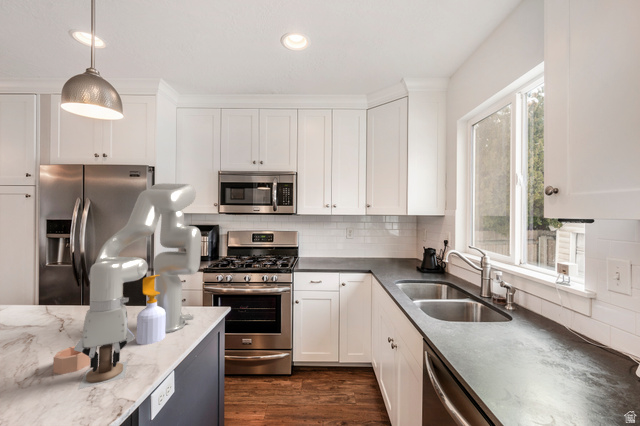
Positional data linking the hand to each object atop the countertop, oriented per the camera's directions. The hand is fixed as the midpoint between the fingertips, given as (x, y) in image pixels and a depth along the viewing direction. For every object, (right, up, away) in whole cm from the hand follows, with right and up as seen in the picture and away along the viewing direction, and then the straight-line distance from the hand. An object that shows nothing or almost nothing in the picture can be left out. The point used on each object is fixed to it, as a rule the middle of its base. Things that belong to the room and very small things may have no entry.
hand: (105, 366), depth 77 cm
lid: (0, -2, 0) cm, 2 cm away
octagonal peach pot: (-13, -3, +4) cm, 14 cm away
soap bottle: (-1, -3, +22) cm, 22 cm away
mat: (0, -3, 0) cm, 3 cm away
